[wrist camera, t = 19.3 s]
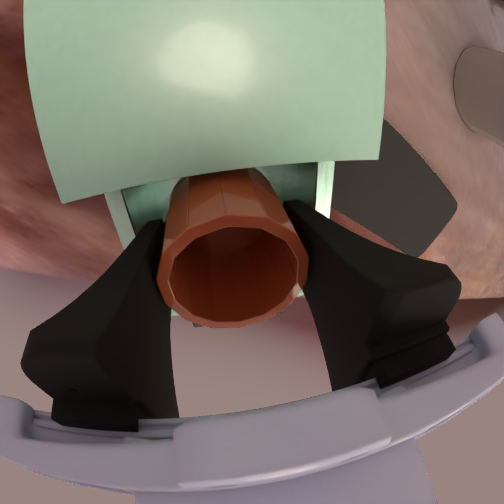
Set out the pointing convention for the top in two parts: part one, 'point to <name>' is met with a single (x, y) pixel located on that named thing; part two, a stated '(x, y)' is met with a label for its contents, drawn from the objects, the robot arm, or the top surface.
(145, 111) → the green rectangular box
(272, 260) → the small cup
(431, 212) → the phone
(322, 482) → the robot arm
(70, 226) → the top surface
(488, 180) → the top surface
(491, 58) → the cup
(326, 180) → the drawer
